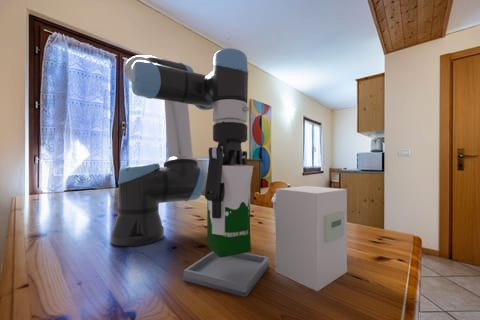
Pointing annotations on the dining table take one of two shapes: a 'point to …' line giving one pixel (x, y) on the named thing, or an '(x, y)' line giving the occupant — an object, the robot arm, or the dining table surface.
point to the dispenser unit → (311, 234)
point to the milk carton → (233, 213)
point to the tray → (228, 272)
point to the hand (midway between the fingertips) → (229, 228)
